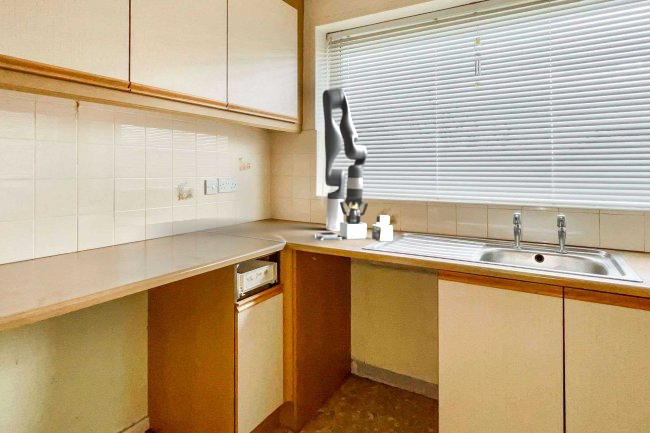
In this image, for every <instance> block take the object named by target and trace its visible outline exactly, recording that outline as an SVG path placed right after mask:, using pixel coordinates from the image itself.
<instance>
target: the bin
mask: <svg viewBox="0 0 650 433" xmlns="http://www.w3.org/2000/svg"><path fill="white" fill-rule="evenodd" d="M367 230H368V225H367V223H365V222H361V221H360V223H359V224H347V222H346V221H343V222H340V231H339V234H338V235H339V236H338V237H340V238H342V239H346V240H358V239H359V240H361V239H367Z"/></svg>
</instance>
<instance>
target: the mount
mask: <svg viewBox="0 0 650 433" xmlns="http://www.w3.org/2000/svg"><path fill="white" fill-rule="evenodd" d="M316 234H317V235H316ZM316 234H313V235H312V236H311V237H312V238H314V239H315V240H318V241H320V242H321V241H345V238H343V237H340V236H338V235H339V234H337V233H335V232H333V231H325V232H324V231H322V232H319V231H318V232H317V233H316Z"/></svg>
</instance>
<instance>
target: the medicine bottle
mask: <svg viewBox="0 0 650 433" xmlns="http://www.w3.org/2000/svg"><path fill="white" fill-rule="evenodd" d="M389 224H390V216H389V215H386V214H379V215H376V224H372V228H371V230H372V231H371V239H372V240H375V241H377V242H392V241H393V232H394V230H393V229H394V228H393V225H389Z"/></svg>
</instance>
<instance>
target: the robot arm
mask: <svg viewBox="0 0 650 433" xmlns="http://www.w3.org/2000/svg"><path fill="white" fill-rule="evenodd" d="M321 98H322V108H323V119H324V149H325V151H324V153H325V154H324V155H325V168H324V169H325V173H324V174H325V176H324V178H325V179H324V181H325V185H326V186H327V187H338V188H337V189H335V190H334V191H332V192H331V191H330V192H328V193H327V196H326V197H327V198H326V225H325V227H326V228H325V230H326V231H330V232H333V231H334V232H335V231H336V232H338V231H340V222H344V216H345V222H347V224H349V213H350V209H351V208H350V205H357V208H356V210H357V214H358V216H357V224H359V223H360V222H361V216H364V215H365V213H366V211H367V209H368V206H369V203H368V202H364V200H363V190H364V182H363V179H364V178H363V176H364V167H365V165H366V161H367V157H368V150H367V148H366V146H365V145H363V144H355V143H356V142H357V141H358V140H359V136H358V132H357V131H356V127H355V126H354V122H353V120H352V116H351V110H350V105H349V101H348V97H347V94H346V92H345V90H344V89H343V88H331V89H326V90H323V93H322V97H321ZM335 109H336V110H337V109H341V113H342V115H341V118H340V122H339V125H338V124H337V123H336V121H335V119H334V116H333V112H332V110H335ZM343 148H344V151H343V152H344V155H345V156H346V158H347V159H348V160H351V161H353V160H354V161H355V162H354V163H353V164H351V165H349V166H348V168H347V181H346V171H345V170H344V169H337V168H336V169H334V168H332V166H333V164H334V161H336V158H337V157H338V156H339V154H340V152H341V151H342V149H343ZM345 186H346V192H345ZM345 193H346V194H345ZM345 195H346V196H345ZM345 197H346V198H345ZM345 205H346V206H347V210H346V209H345ZM361 206H362V207H363V209H362V212H361V208H360V207H361Z"/></svg>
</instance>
